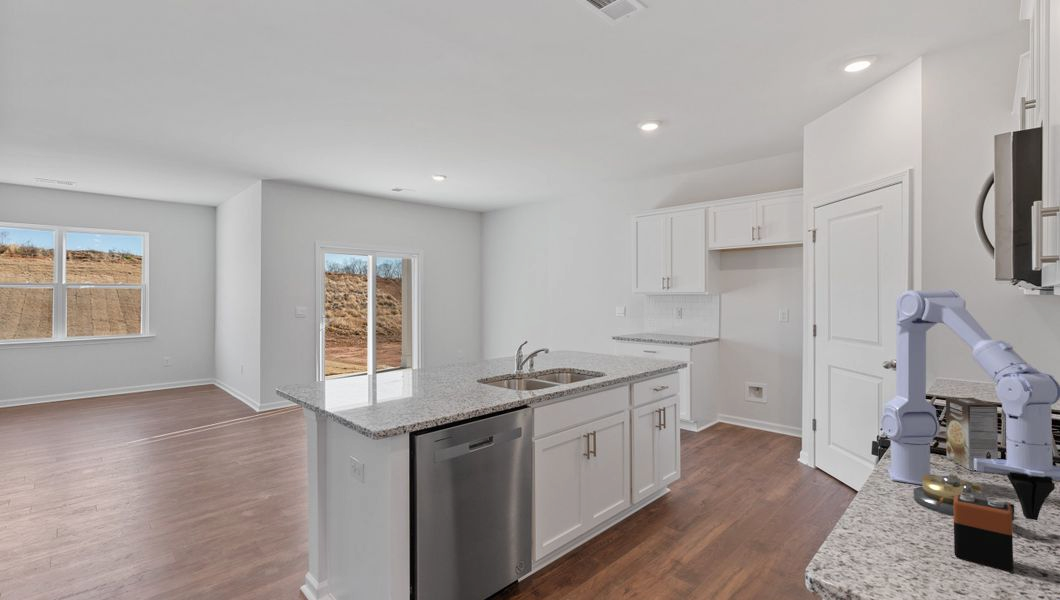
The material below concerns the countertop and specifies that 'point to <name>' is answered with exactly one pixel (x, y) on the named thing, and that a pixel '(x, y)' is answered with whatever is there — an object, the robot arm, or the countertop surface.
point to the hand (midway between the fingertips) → (1030, 517)
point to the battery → (983, 531)
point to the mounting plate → (932, 502)
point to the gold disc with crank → (952, 489)
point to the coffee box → (971, 430)
